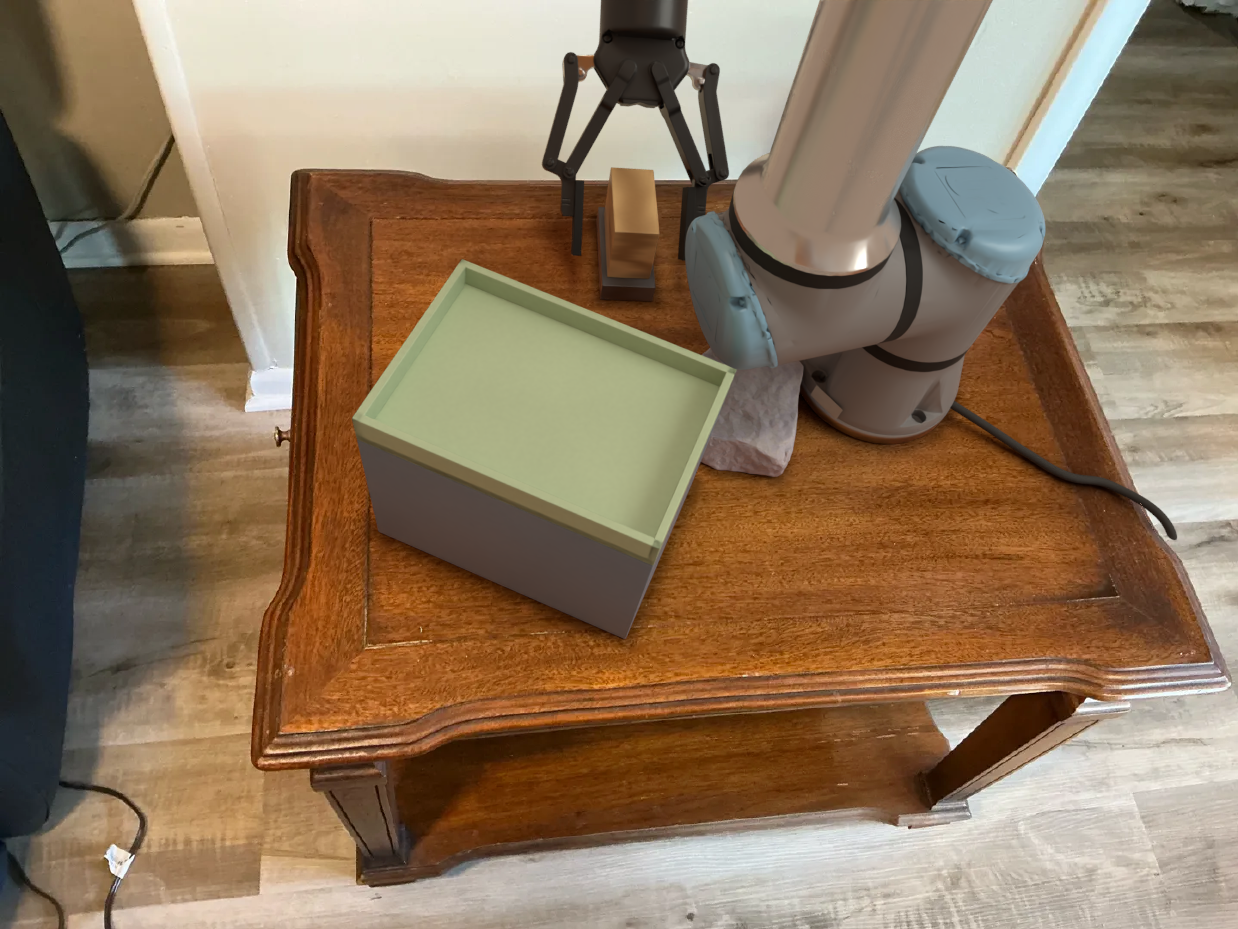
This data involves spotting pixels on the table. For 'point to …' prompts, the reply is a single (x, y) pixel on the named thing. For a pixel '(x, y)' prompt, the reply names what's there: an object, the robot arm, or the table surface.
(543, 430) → the tray
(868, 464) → the table surface
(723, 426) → the stone block
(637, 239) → the eraser
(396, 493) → the stand
